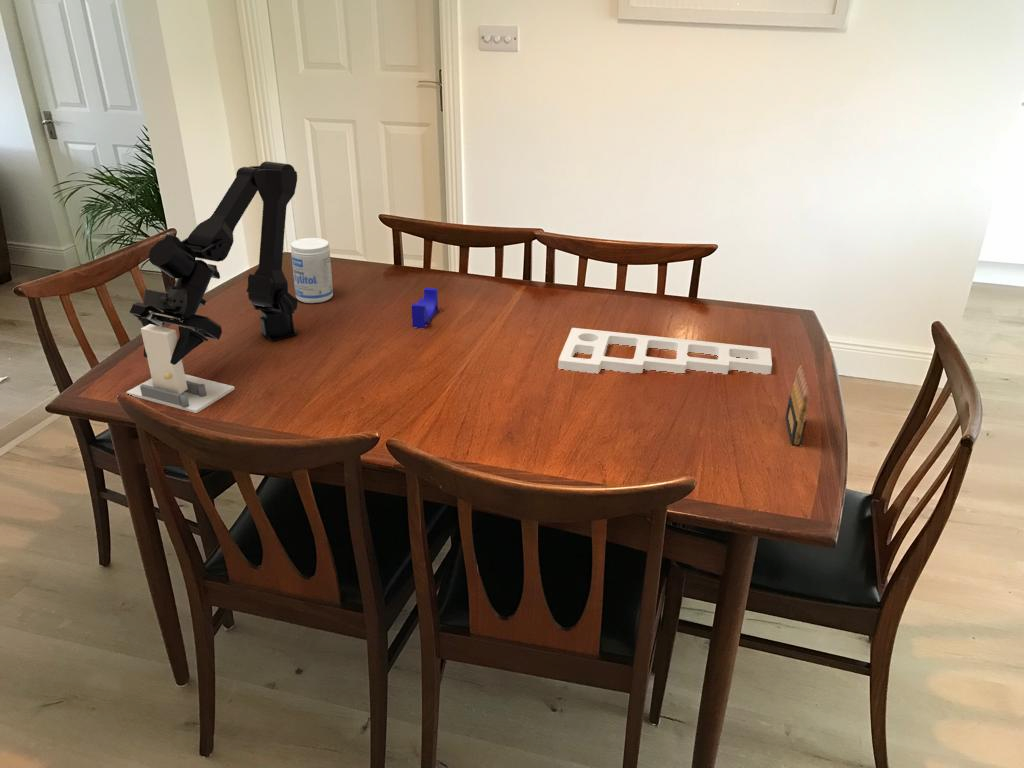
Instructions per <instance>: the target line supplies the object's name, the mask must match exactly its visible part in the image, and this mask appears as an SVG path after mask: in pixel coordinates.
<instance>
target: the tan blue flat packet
mask: <svg viewBox="0 0 1024 768" xmlns="http://www.w3.org/2000/svg"><path fill="white" fill-rule="evenodd" d="M809 389H810V388H809V386H808V381H807V378H806V374H805V370H804V367H803V364H800V365H799V367H798V369H797V372H796V374H795V377H794V381H793V385H792V388H791V394H790V395H789V397H788V402H787V406H786V412H785V423H786V422H787V423H786V427H787V428H786V429H787V433H788V432H789V433H788V437H790V438H789V442H790V441H791V443H790V445H791V444H792V445H791V446H793V445H802V446H803V440H804V435H805V430H806V425H807V414H808V405H809V399H810V390H809Z"/></svg>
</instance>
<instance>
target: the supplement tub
mask: <svg viewBox="0 0 1024 768" xmlns="http://www.w3.org/2000/svg"><path fill="white" fill-rule="evenodd" d="M290 246H291V249H290V251H291V252H290V255H291V263H292V275H293V285H294V291H295V292H294V294H295V298H296V299H297V300H298V301H300V302H301V303H302V302H303V303H305V304H315V303H316V304H319V303H324V302H326V301H329V300H331V299H332V298H333V295H334V290H333V289H334V288H333V275H332V273H333V272H332V262H331V261H332V260H331V250H330V246H329V241H328V240H327V239H323V238H319V237H305V238H299V239H296V240H294V241H293V242H291V244H290Z"/></svg>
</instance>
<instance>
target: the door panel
mask: <svg viewBox="0 0 1024 768" xmlns="http://www.w3.org/2000/svg"><path fill="white" fill-rule="evenodd" d="M140 332H141V337H142V341H143V347H144V346H145V351H146V354H147V358H146V359H147V363H148V367H149V372H150V373H149V374H150V376H151V378H152V382H153V386H154V387H156V388H159V389H163V390H167V391H171V392H175V393H179V394H181V393H182V392H184V391H186V390H187V389H188V388H187V383H186V378H185V370H184V364H183V358H182V359H181V360H180V361H179V362H178V363H177V364H175V365H173V364H171V363H170V361H171V358H172V355H173V352H174V349H175V347H176V344H177V342H178V339H179V338H178V334H177V330H176V329H174V328H169V327H165V326H162V327H161V326H157V325H152V324H149V325H147V326H145V327H143V326H142V327H141V328H140Z"/></svg>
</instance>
